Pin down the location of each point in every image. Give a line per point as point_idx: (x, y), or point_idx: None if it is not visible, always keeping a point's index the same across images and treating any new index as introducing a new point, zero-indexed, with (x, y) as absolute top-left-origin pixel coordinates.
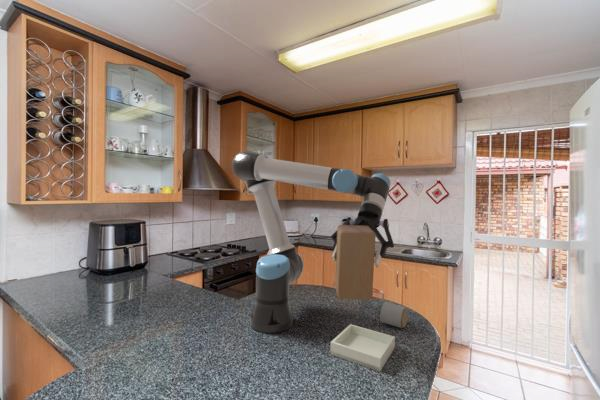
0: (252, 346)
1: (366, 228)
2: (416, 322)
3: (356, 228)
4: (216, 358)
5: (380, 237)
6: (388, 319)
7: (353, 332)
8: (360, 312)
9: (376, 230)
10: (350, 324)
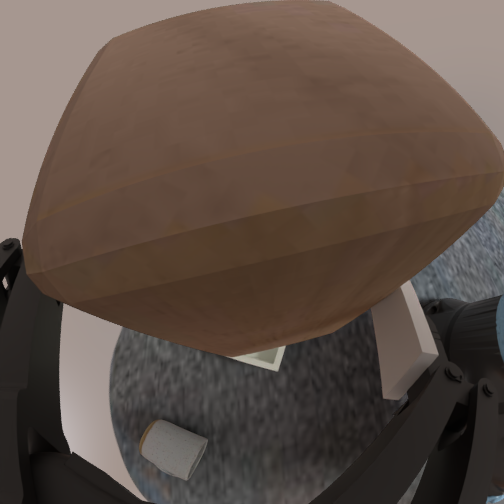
0: None
1: (112, 76)
2: (136, 456)
3: (233, 34)
4: None
5: (28, 286)
6: (187, 431)
7: (268, 361)
8: (261, 483)
9: (5, 364)
10: (276, 369)
